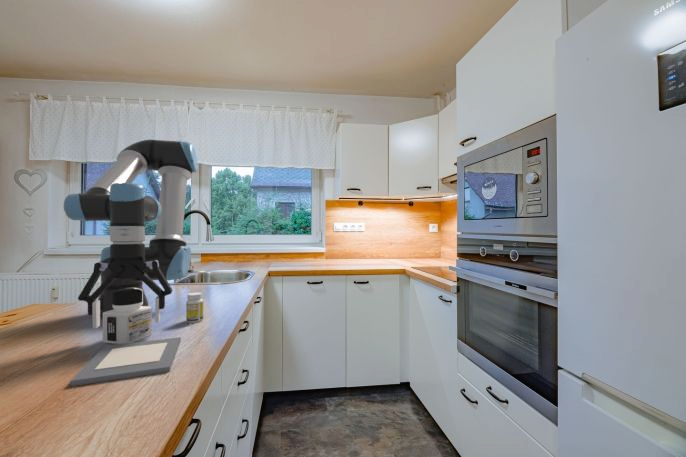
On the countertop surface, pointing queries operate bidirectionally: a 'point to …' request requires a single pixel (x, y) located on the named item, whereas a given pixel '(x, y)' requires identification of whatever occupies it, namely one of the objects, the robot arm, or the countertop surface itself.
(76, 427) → the countertop surface
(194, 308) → the supplement bottle
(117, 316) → the container
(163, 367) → the board
